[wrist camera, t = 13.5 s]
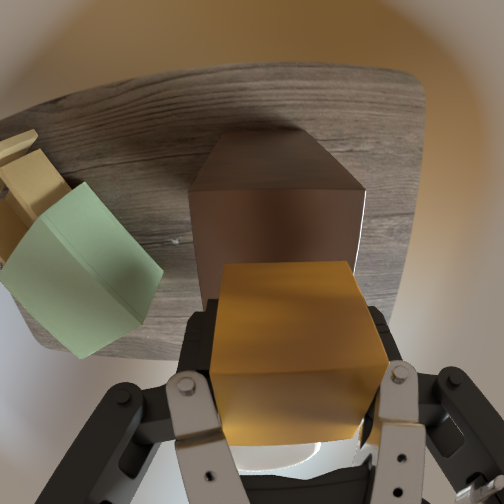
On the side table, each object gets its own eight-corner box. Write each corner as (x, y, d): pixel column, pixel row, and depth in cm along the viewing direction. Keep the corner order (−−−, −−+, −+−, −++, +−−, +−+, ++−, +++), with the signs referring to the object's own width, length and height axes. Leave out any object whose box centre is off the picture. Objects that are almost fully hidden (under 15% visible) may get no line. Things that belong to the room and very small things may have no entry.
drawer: (-22, 163, 28) (-60, 184, 21) (14, 101, 25) (-30, 113, 18) (53, 260, 35) (24, 295, 29) (100, 213, 32) (68, 247, 25)
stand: (227, 206, 33) (205, 326, 17) (223, 131, 29) (187, 191, 13) (303, 204, 33) (344, 322, 17) (305, 130, 29) (366, 189, 13)
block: (231, 348, 14) (225, 446, 9) (223, 262, 11) (208, 373, 7) (331, 344, 14) (352, 438, 9) (347, 260, 11) (390, 362, 7)
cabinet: (35, 237, 35) (-4, 277, 26) (84, 180, 31) (38, 215, 23) (105, 310, 41) (80, 359, 33) (164, 271, 37) (142, 325, 29)
